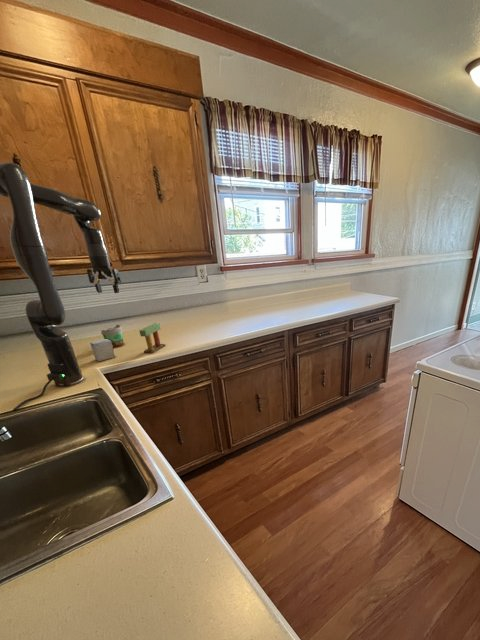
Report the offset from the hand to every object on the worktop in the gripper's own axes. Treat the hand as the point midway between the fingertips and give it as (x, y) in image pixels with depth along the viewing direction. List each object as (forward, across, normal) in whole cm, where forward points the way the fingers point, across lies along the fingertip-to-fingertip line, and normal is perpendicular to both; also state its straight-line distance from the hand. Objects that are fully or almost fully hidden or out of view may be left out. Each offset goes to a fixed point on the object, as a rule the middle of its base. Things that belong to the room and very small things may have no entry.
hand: (108, 292), depth 151 cm
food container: (+30, -12, +12) cm, 35 cm away
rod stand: (+30, +11, +9) cm, 33 cm away
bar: (+21, +11, +9) cm, 25 cm away
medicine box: (+30, -6, -7) cm, 32 cm away
